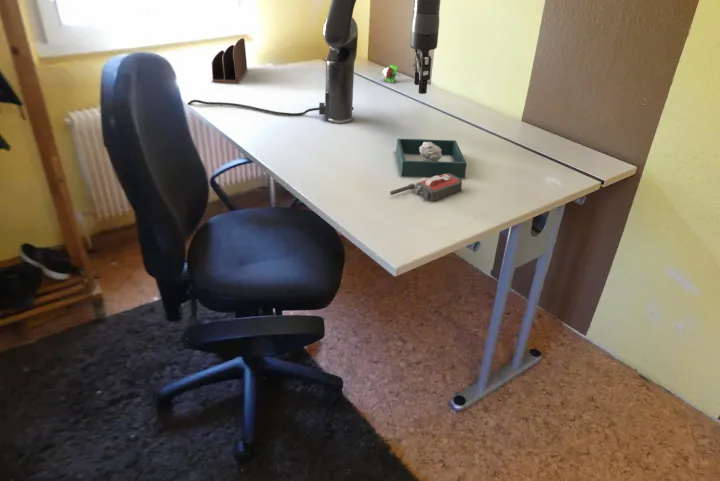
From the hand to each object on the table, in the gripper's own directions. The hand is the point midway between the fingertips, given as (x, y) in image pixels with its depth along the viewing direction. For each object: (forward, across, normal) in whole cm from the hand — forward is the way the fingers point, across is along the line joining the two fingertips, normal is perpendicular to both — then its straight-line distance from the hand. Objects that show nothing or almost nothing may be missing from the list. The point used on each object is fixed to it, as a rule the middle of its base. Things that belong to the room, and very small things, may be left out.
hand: (420, 89), depth 158 cm
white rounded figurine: (+19, +11, +2) cm, 22 cm away
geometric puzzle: (+18, -72, 0) cm, 74 cm away
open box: (+19, +11, +2) cm, 22 cm away
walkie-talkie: (+19, +29, -1) cm, 35 cm away
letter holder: (+16, -72, -66) cm, 99 cm away
